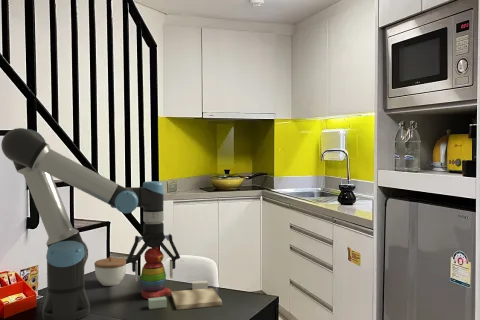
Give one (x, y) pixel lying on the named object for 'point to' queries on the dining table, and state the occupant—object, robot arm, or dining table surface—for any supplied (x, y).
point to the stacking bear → (153, 275)
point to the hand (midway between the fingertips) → (154, 278)
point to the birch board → (195, 298)
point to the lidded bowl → (110, 270)
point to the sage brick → (157, 302)
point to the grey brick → (199, 285)
